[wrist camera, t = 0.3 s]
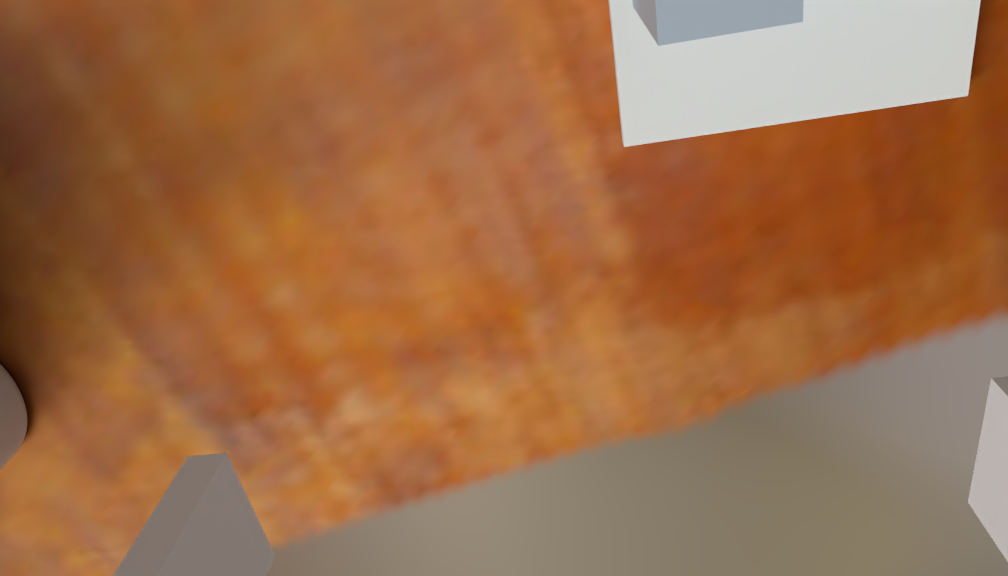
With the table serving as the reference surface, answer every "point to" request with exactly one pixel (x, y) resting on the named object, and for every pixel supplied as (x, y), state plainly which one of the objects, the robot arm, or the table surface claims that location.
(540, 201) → the table surface
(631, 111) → the slotted stand
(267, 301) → the table surface
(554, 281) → the table surface
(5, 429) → the cylinder vase
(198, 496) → the robot arm
